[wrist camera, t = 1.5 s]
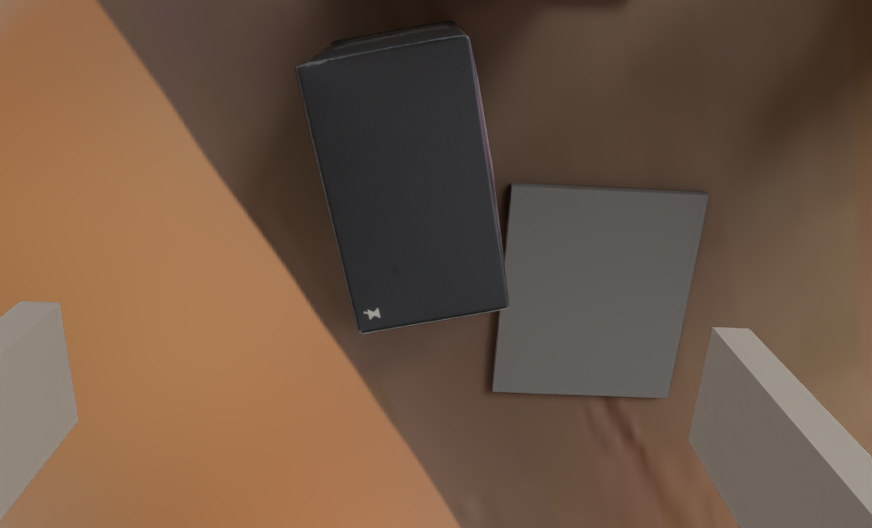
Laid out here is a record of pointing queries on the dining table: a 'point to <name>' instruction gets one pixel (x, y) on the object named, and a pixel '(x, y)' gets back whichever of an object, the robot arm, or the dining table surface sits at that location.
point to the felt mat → (595, 289)
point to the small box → (407, 175)
